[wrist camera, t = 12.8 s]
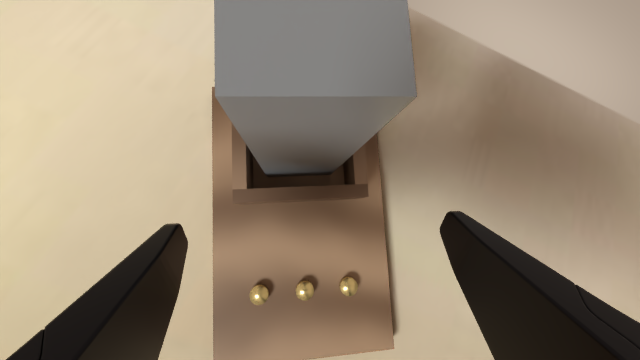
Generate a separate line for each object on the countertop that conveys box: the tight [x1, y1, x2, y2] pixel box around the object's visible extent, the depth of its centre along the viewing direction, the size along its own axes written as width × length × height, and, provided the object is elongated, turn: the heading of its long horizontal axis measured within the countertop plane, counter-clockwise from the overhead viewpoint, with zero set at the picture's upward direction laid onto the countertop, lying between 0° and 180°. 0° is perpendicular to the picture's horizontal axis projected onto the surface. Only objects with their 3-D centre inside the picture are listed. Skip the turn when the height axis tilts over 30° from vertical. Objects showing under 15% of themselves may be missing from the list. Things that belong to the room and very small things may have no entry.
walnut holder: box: [212, 87, 394, 360], centre depth 17 cm, size 19×12×4 cm, turn 3°
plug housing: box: [214, 0, 417, 177], centre depth 12 cm, size 4×4×13 cm
